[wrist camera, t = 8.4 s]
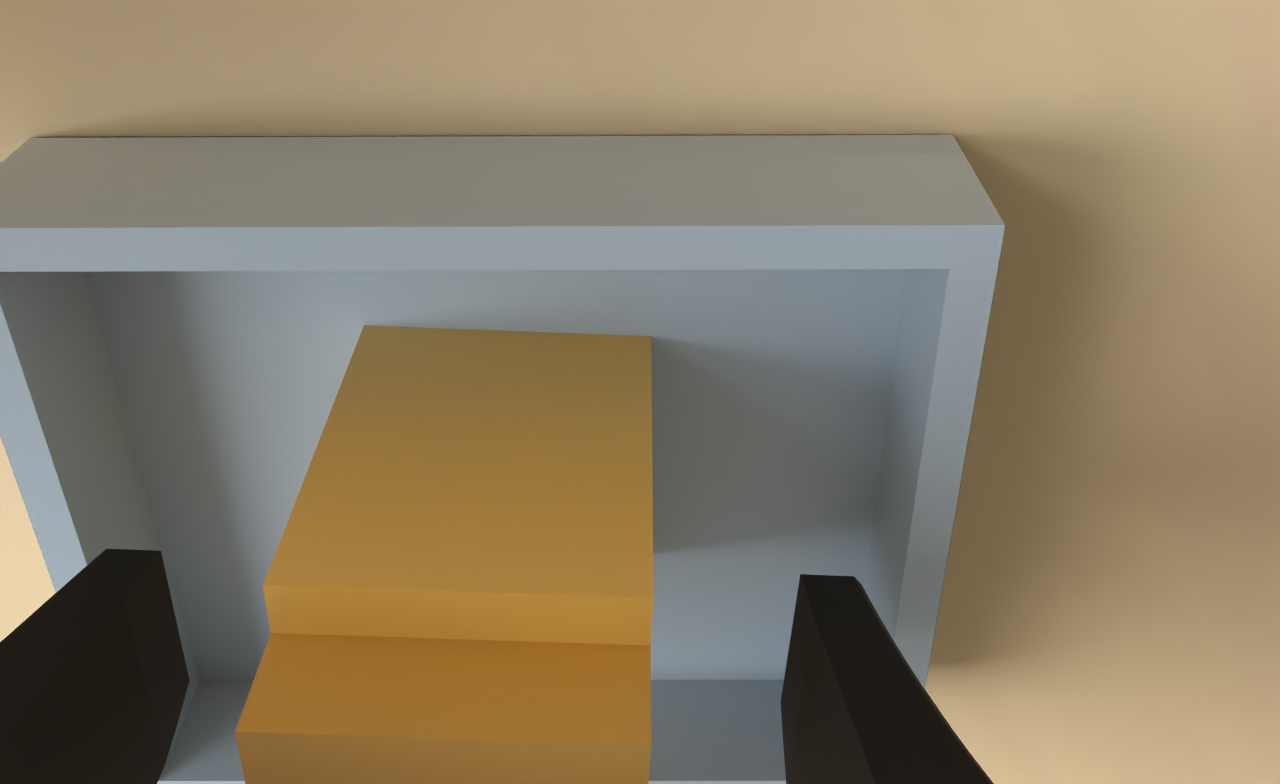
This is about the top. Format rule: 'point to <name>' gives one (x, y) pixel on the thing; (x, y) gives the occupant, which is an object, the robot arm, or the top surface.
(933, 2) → the top surface
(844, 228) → the parts tray
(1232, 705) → the top surface
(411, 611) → the block
